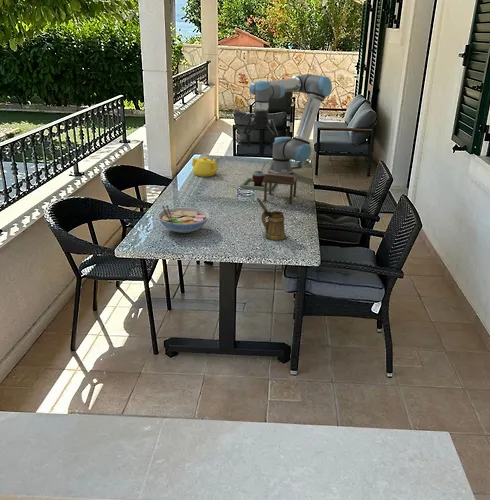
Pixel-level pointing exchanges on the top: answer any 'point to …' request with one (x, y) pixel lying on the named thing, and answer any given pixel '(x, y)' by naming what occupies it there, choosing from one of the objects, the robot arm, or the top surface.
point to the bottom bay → (253, 186)
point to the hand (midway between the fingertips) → (260, 147)
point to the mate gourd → (258, 177)
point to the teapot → (204, 167)
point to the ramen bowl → (183, 219)
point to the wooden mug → (273, 223)
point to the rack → (280, 179)
